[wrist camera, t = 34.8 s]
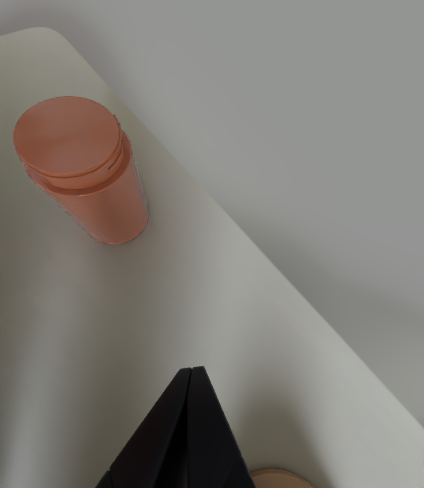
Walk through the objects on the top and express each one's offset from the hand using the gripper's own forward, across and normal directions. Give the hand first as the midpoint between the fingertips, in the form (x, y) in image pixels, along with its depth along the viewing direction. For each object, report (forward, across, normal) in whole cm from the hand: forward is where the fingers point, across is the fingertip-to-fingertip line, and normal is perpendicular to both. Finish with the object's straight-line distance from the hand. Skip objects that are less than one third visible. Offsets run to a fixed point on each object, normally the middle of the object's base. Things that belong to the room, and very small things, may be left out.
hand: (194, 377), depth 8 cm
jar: (+15, +8, -5) cm, 18 cm away
